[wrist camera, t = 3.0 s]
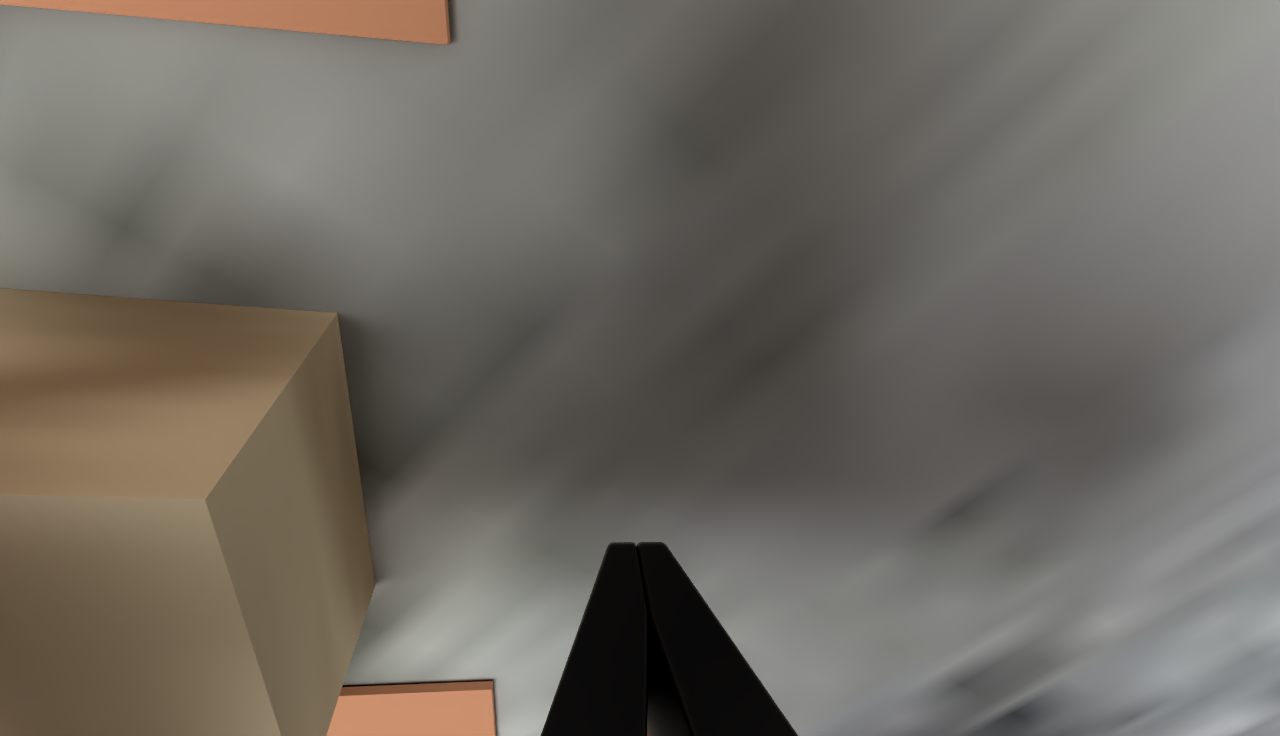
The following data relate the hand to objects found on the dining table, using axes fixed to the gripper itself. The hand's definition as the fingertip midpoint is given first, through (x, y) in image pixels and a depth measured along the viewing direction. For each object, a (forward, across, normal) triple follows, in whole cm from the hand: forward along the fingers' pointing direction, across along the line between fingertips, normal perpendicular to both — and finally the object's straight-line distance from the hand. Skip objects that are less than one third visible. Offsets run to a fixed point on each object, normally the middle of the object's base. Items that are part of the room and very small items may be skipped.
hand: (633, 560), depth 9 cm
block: (+2, +8, 0) cm, 8 cm away
